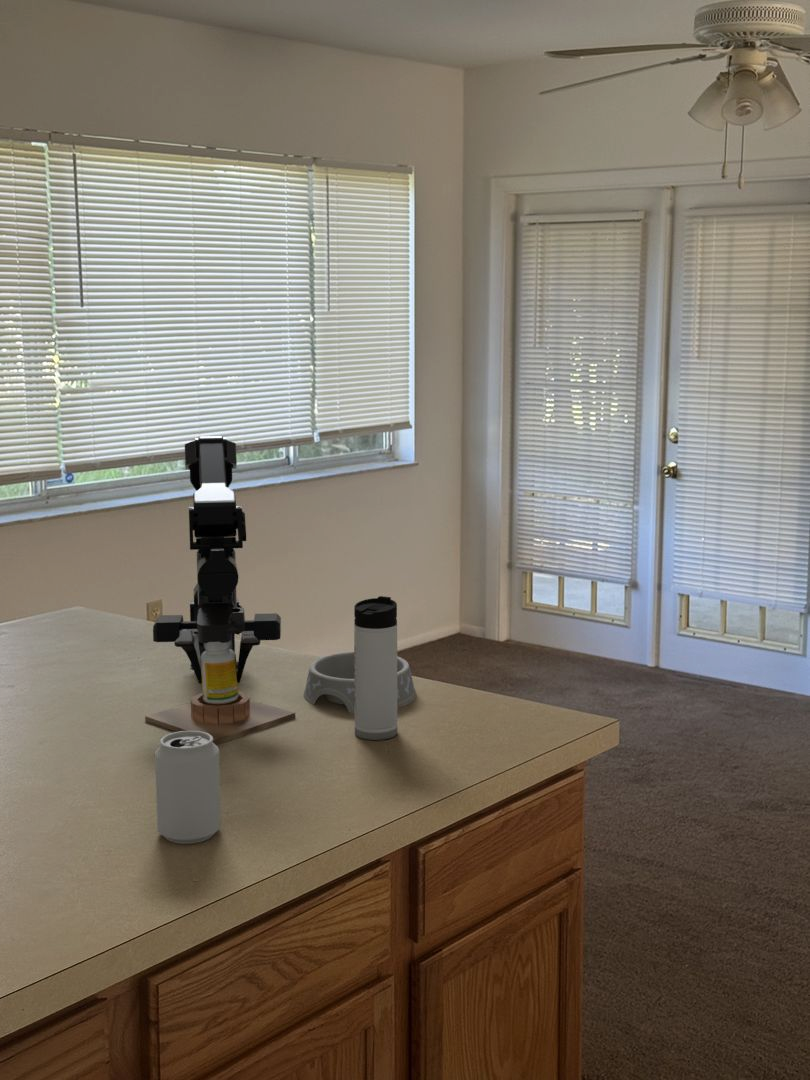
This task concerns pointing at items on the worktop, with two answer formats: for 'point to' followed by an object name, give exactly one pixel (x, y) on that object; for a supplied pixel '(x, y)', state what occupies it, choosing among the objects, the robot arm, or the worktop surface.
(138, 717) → the worktop surface
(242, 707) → the collar board
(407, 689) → the dog bowl
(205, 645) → the supplement bottle
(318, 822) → the worktop surface
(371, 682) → the travel mug
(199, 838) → the can
